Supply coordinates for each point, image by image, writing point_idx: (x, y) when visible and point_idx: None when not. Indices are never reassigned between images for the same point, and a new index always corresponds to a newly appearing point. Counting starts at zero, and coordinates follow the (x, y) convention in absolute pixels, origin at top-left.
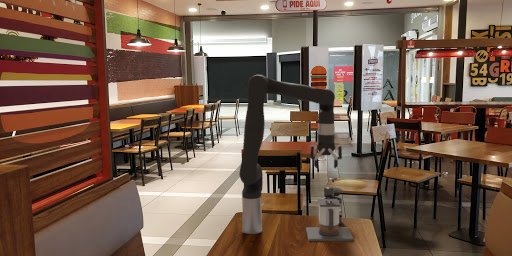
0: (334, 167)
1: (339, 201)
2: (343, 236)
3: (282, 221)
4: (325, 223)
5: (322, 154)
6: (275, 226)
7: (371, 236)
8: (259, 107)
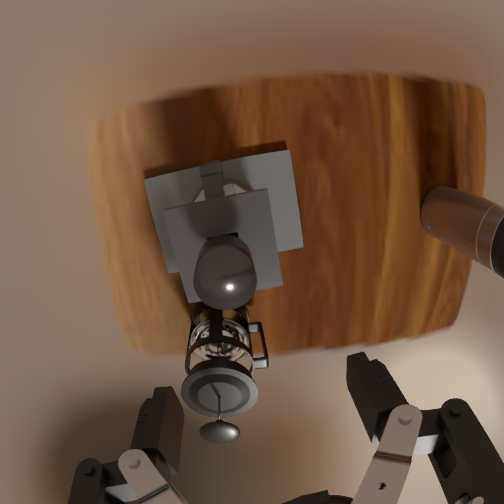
0: (171, 392)
1: (191, 350)
2: (175, 188)
3: (369, 295)
4: (236, 186)
5: (334, 498)
6: (388, 253)
7: (98, 227)
8: None
